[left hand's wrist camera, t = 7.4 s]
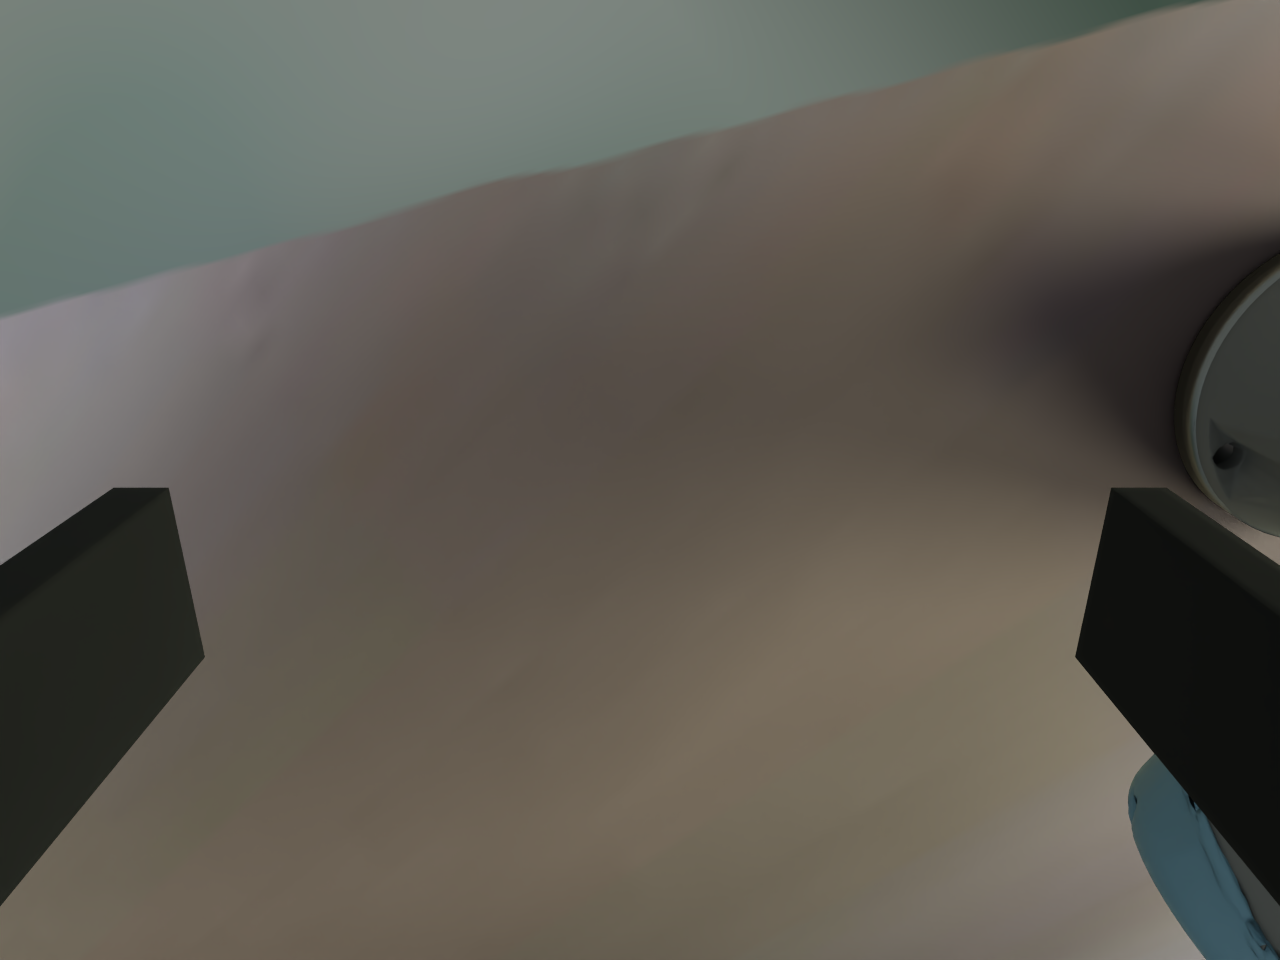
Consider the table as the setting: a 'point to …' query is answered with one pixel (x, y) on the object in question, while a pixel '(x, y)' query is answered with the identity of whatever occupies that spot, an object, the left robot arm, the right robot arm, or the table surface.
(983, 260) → the table surface
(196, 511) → the table surface
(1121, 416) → the table surface
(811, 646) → the table surface
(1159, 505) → the left robot arm
